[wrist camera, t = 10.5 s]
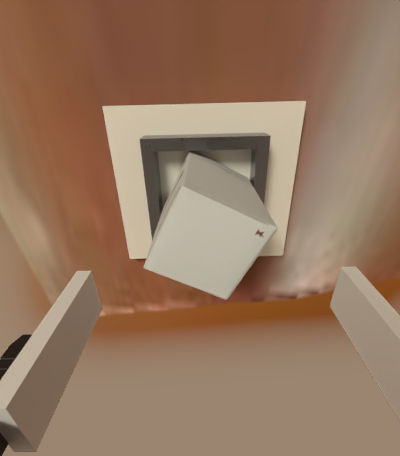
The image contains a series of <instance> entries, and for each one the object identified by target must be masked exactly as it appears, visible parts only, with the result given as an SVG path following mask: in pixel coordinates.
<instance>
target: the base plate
mask: <svg viewBox="0 0 400 456" xmlns="http://www.w3.org/2000/svg"><path fill="white" fill-rule="evenodd" d="M305 105H306V101H285V102H246V103H207V104H169V105H130V106H102V107H103V112H104V118H105V123H106V129H107V134H108V140H109V146H110V151H111V157H112V162H113V168H114V173H115V179H116V185H117V190H118V196H119V201H120V207H121V212H122V218H123V224H124V229H125V235H126V240H127V246H128V251H129V257H130V259H145V258H147V255H148V252H149V249H150V246H151V243H152V235H151V227H150V219H149V211H148V203H147V195H146V187H145V179H144V171H143V164H142V156H141V148H140V140H139V139H140V138H142V137H143V136H145V135H185V134H225V133H266V134H268V135H270V136H271V137H270V147H269V158H268V168H267V178H266V188H265V198H264V206H265V208H266V209H267V211H268V213H269V214H270V216H271V218H272V219H273V221H274V223H275V224H276V226H277V231H276V232H275V233H274V235H273V236H272V237H271V239H270V240H269V242H268V243H267V244H266V246H265V247H264V249H263V250H262V251H261V253H260V254H259V256H283V251H284V245H285V238H286V231H287V225H288V218H289V211H290V205H291V198H292V191H293V185H294V178H295V172H296V165H297V158H298V152H299V145H300V138H301V132H302V125H303V118H304V112H305ZM197 152H199V153H201V154H203V155H205V156H207V157H209V158H211V159H213V160H214V161H216V162H218V163H220V164H222V165H224V166H226V167H228V168H230V169H232V170H234V171H236V172H238V173H240V174H242V175H244V176H246V177H248V179H249V180H250V168H251V153H252V149H242V150H201V151H197ZM188 153H189V151H160V152H158V160H159V171H160V181H161V191H162V202H163V208H164V205H165V203H166V201H167V199H168V196H169V194H170V192H171V190H172V188H173V186H174V183H175V181H176V179H177V177H178V175H179V173H180V170H181V168H182V166H183V164H184V162H185V160H186V157H187V155H188Z"/></svg>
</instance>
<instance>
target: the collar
mask: <svg viewBox="0 0 400 456" xmlns="http://www.w3.org/2000/svg"><path fill="white" fill-rule="evenodd" d="M270 137H271V136H270V135H268V134H266V133H225V134H185V135H145V136H143V137H142V138H140V139H139V140H140V148H141V156H142V164H143V171H144V179H145V187H146V195H147V203H148V211H149V219H150V227H151V235H152V240H153V237H154V234H155V231H156V228H157V225H158V222H159V219H160V216H161V214H162V211H163V202H162V191H161V181H160V171H159V160H158V152H160V151H201V150H242V149H252V153H251V168H250V182H251V184H252V186H253V187H254V189H255V191H256V192H257V194H258V196H259V197H260V199H261V201H262V202H263V204H264V198H265V188H266V178H267V168H268V158H269V147H270Z"/></svg>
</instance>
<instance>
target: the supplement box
mask: <svg viewBox="0 0 400 456" xmlns="http://www.w3.org/2000/svg"><path fill="white" fill-rule="evenodd" d="M276 231H277V226H276V224H275V223H274V221H273V219H272V218H271V216H270V214H269V213H268V211H267V209H266V208H265V206H264V204H263V202H262V201H261V199H260V197H259V196H258V194H257V192H256V191H255V189H254V187H253V186H252V184H251V182H250V180H249V179H248V177H246V176H244V175H242V174H240V173H238V172H236V171H234V170H232V169H230V168H228V167H226V166H224V165H222V164H220V163H218V162H216V161H214V160H213V159H211V158H209V157H207V156H205V155H203V154H201V153H199V152H197V151H189V153H188V155H187V157H186V160H185V162H184V164H183V166H182V168H181V170H180V173H179V175H178V177H177V179H176V181H175V183H174V186H173V188H172V190H171V192H170V194H169V196H168V199H167V201H166V203H165V205H164V208H163V211H162V214H161V216H160V219H159V222H158V225H157V228H156V231H155V234H154V237H153V240H152V243H151V246H150V249H149V252H148V255H147V258H146V261H145V264H144V268H145V269H147V270H150V271H152V272H155V273H158V274H160V275H163V276H165V277H168V278H171V279H173V280H176V281H179V282H181V283H184V284H187V285H189V286H192V287H195V288H197V289H200V290H202V291H205V292H207V293H209V294H212V295H214V296H217V297H219V298H222V299H224V300H226V299H228V298H229V297H230V295H231V294H232V292H233V291H234V289H235V288H236V286H237V285H238V284H239V282H240V281H241V280H242V278H243V277H244V275H245V274H246V272H247V271H248V270H249V268H250V267H251V266H252V265H253V263H254V261H255V260H256V258H257V257H258V256H259V254H260V253H261V251H262V250H263V249H264V247H265V246H266V244H267V243H268V242H269V240H270V239H271V237H272V236H273V235H274V233H275V232H276Z"/></svg>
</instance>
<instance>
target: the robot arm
mask: <svg viewBox="0 0 400 456" xmlns="http://www.w3.org/2000/svg"><path fill="white" fill-rule="evenodd" d="M330 307H331V309H332V311H333V312H334V314H335V316H336V317H337V319H338V320H339V322H340V324H341V325H342V327H343V329H344V330H345V332H346V334H347V335H348V337H349V339H350V340H351V342H352V344H353V345H354V347H355V349H356V350H357V352H358V354H359V355H360V357H361V359H362V360H363V362H364V364H365V365H366V367H367V368H368V370H369V372H370V374H371V375H372V377H373V378H374V380H375V382H376V383H377V385H378V387H379V388H380V390H381V392H382V393H383V395H384V396H385V398H386V400H387V402H388V403H389V405H390V407H391V408H392V410H393V412H394V413H395V415H396V416H397V418H398V420H399V422H400V316H399V314H398V313H397V312H396V311H395V310H394V309H393V308H392V307H391V305H390V304H389V303H388V302H387V301H386V300H385V299H384V298H383V296H382V295H381V294H380V293H379V292H378V291H377V290H376V289H375V287H373V285H372V284H371V283H370V282H369V281H368V280H367V278H366V277H365V276H364V275H363V274H362V273H361V272H360V271H359V270H358V268H357V267H341V269H340V273H339V276H338V279H337V283H336V286H335V290H334V293H333V296H332V300H331V303H330ZM101 310H102V307H101V303H100V300H99V296H98V292H97V289H96V285H95V282H94V278H93V275H92V271H77V272H76V273H75V275H74V276H73V278H72V279H71V280H70V282H69V283H68V285H67V286H66V288H65V289H64V290H63V292H62V293H61V295H60V296H59V298H58V299H57V300H56V302H55V303H54V305H53V306H52V307H51V309H50V311H49V312H48V313H47V315H46V316H45V318H44V319H43V320H42V322H41V323H40V325H39V326H38V328H37V329H36V330H35V332H34V333H33V335H22V336H21V337H20V338H18V339H17V340H16V341H15V342H14V343H12V344H11V345H10V346H9V347H8V349H7V350H6V351H5V353H4V354H3V356H2V357H1V360H0V456H2V454H3V452H4V451H5V448H6V447H7V445H9V446H10V447H11V448H12V450H13V451H14V452H36V451H37V449H38V446H39V444H40V442H41V440H42V438H43V436H44V434H45V431H46V429H47V427H48V425H49V423H50V420H51V418H52V416H53V414H54V412H55V410H56V408H57V405H58V403H59V401H60V399H61V397H62V395H63V392H64V390H65V388H66V386H67V384H68V382H69V379H70V377H71V375H72V373H73V371H74V368H75V366H76V364H77V362H78V360H79V357H80V355H81V353H82V351H83V349H84V347H85V345H86V343H87V340H88V338H89V336H90V334H91V332H92V330H93V327H94V325H95V323H96V321H97V319H98V317H99V315H100V312H101Z"/></svg>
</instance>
